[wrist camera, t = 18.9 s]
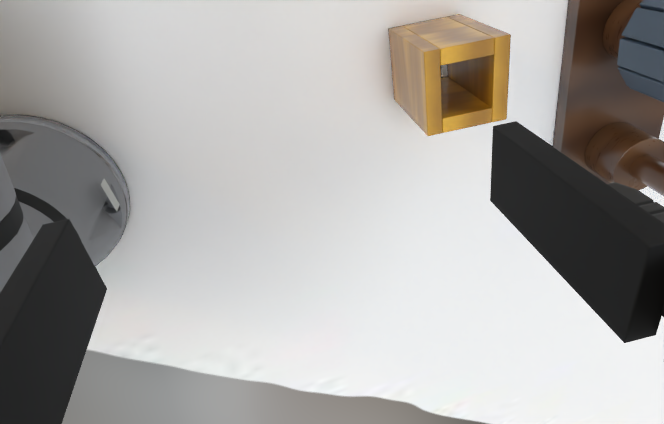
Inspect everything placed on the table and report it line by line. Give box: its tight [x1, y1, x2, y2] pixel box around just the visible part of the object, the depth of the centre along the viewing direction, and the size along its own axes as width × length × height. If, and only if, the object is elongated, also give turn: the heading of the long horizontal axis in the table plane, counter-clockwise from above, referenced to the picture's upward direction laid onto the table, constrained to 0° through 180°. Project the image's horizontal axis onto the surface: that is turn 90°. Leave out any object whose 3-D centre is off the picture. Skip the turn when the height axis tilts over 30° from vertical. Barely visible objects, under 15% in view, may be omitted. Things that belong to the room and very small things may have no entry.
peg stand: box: [553, 0, 664, 196], centre depth 41 cm, size 24×11×14 cm, turn 9°
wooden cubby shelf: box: [389, 14, 511, 136], centre depth 39 cm, size 6×6×9 cm
